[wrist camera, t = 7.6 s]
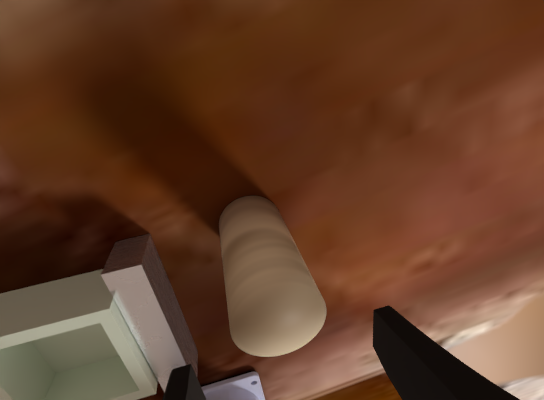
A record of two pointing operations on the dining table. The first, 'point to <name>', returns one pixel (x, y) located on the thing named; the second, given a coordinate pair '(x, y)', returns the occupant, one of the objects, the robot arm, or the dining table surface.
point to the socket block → (69, 344)
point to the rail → (149, 306)
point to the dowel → (266, 281)
